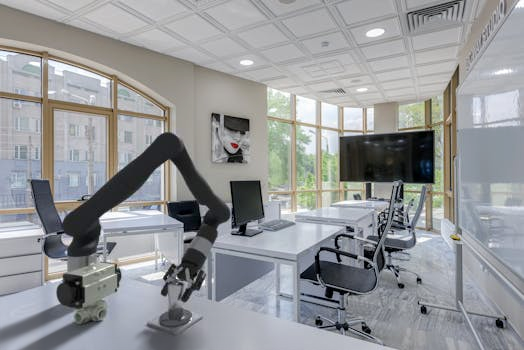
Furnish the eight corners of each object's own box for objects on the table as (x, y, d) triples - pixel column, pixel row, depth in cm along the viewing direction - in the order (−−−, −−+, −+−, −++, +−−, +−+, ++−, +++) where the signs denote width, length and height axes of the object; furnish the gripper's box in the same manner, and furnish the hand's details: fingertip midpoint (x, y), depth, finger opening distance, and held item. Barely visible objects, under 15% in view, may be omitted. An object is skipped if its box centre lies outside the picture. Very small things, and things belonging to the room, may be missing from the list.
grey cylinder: (164, 317, 94) (164, 285, 93) (175, 311, 98) (175, 280, 98) (175, 321, 91) (175, 288, 91) (186, 314, 95) (186, 283, 95)
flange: (147, 324, 92) (147, 320, 92) (175, 308, 102) (175, 304, 102) (175, 335, 86) (175, 330, 86) (203, 317, 97) (203, 312, 97)
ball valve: (76, 336, 85) (75, 274, 85) (55, 330, 88) (55, 270, 88) (125, 308, 102) (125, 257, 102) (106, 304, 105) (106, 254, 105)
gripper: (176, 244, 104) (149, 288, 94) (208, 249, 97) (183, 298, 87) (187, 255, 109) (162, 298, 99) (218, 261, 102) (195, 308, 92)
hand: (172, 298), depth 93 cm, fingers open, 8 cm apart
